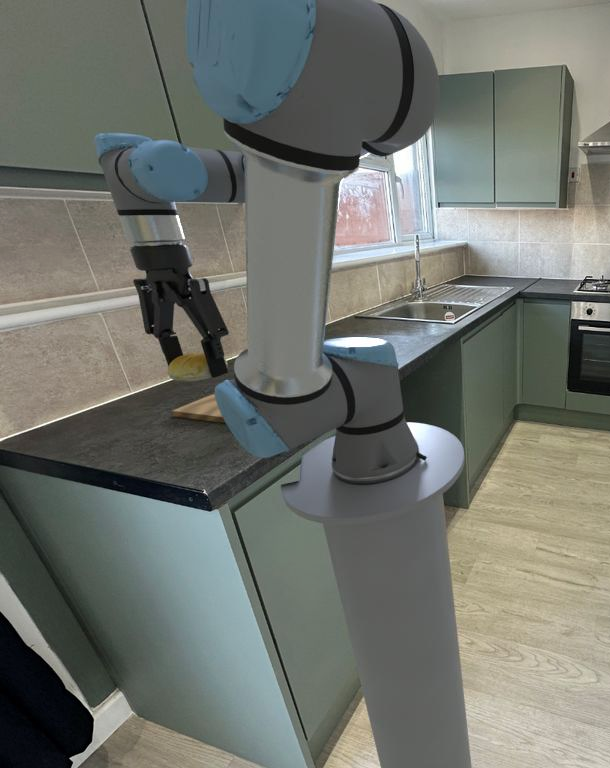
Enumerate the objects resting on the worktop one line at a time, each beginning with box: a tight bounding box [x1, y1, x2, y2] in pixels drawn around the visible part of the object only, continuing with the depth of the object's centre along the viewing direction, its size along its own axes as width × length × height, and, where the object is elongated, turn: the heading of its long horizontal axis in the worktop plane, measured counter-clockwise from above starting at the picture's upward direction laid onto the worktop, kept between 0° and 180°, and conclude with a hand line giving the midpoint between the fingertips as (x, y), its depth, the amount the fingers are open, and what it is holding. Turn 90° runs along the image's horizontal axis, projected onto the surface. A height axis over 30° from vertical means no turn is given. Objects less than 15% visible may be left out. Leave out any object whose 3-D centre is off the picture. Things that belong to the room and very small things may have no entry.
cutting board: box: [171, 392, 226, 424], centre depth 99 cm, size 20×14×2 cm
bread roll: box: [167, 352, 228, 382], centre depth 75 cm, size 8×9×4 cm
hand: (199, 372), depth 76 cm, fingers closed on bread roll, 9 cm apart
